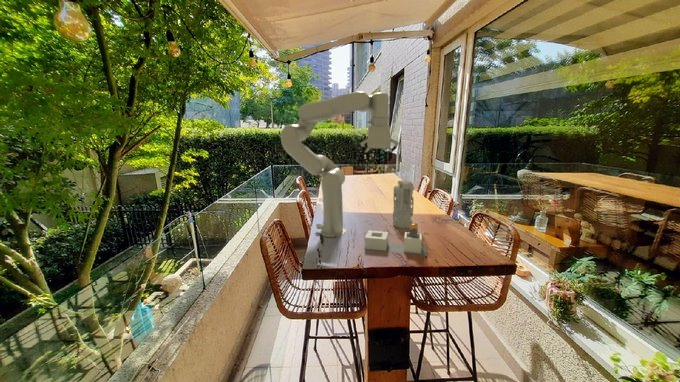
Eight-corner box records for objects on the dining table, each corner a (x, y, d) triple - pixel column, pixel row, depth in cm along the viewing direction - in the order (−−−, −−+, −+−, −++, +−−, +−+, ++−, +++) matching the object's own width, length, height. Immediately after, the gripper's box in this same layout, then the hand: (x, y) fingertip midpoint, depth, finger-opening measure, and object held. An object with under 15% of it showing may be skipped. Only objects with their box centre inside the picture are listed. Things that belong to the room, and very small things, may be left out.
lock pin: (409, 250, 110) (410, 225, 108) (409, 247, 113) (410, 222, 111) (416, 250, 110) (418, 225, 107) (416, 247, 112) (417, 223, 110)
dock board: (361, 251, 113) (362, 235, 111) (366, 242, 122) (366, 227, 120) (426, 258, 105) (427, 241, 104) (425, 247, 115) (426, 232, 113)
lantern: (391, 222, 149) (392, 178, 144) (410, 222, 148) (411, 177, 143) (395, 230, 136) (396, 182, 131) (415, 230, 136) (417, 182, 130)
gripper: (358, 122, 117) (358, 161, 121) (398, 121, 112) (397, 162, 116) (362, 123, 124) (362, 160, 128) (399, 122, 119) (398, 160, 123)
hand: (378, 161), depth 122 cm, fingers open, 9 cm apart
